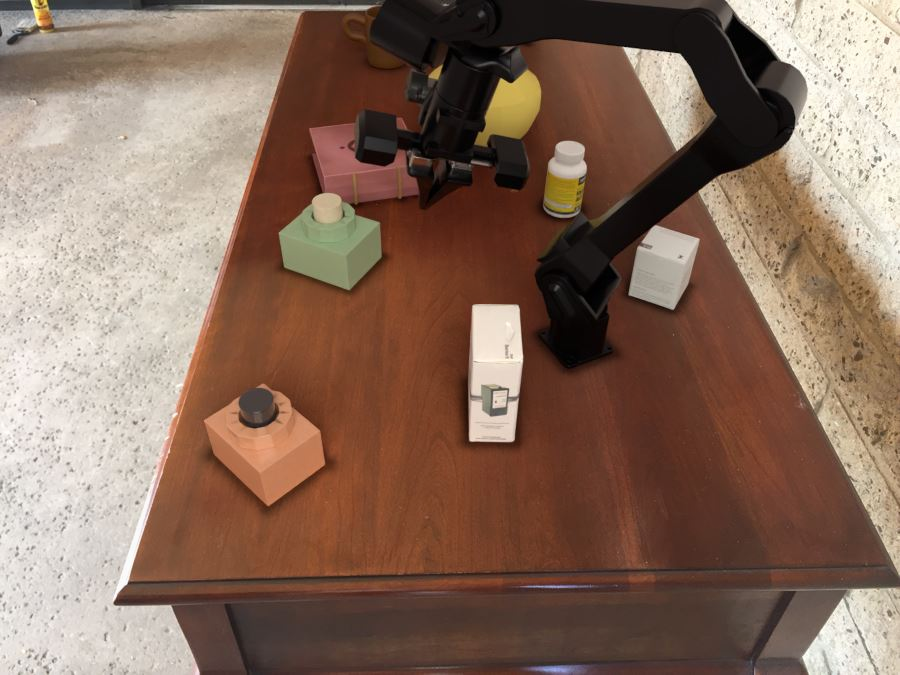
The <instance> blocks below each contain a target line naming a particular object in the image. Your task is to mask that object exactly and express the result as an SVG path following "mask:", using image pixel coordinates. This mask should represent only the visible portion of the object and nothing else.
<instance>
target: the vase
mask: <svg viewBox="0 0 900 675" xmlns="http://www.w3.org/2000/svg"><path fill="white" fill-rule="evenodd" d="M442 66H443V64H440V65H439V66H437V67H436V68H434V70H433V71H431V73H429V74H428V76H429V78H434V79H438V78H439V75H440V72H441V69H442ZM541 102H542V88H541V85H540V81H539V79H538V78H537V75H535V74H534V73H533V72H532V71H531V70H530V69H529V68H528V69H527V70H526V71H525V72H524V73H523V74H522V75H521V76H520V77H519V78H518V79H517V80H516V81H514V82H513V83H508V82H507V81H505V80H503V79H502V78H501V79H500V81H499V84H498V86H497V89H496V91H495V93H494V96H493V98H492V101H491V103H490V106H489V109H488V111H487V114H486V116H485V121H486V126H485V129H484V131H483V133H482V132H479V133H478V136H477V138H476V141H475V143H474V145H479V146H485V147H488V146H487V141H488V139H489V136H490V135H492V134H496V135H501V136H506V137H511V138H516V139H521V140H522V138H523V137H524V136H525V135H526V134H527V133H528V131H530V129H531V127H532V125H533V123H534V122H535V120H536V118H537V116H538V114H539V113H540V110H541Z"/></svg>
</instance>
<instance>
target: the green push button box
mask: <svg viewBox="0 0 900 675" xmlns="http://www.w3.org/2000/svg"><path fill="white" fill-rule="evenodd" d="M342 210H343V218H342V220H340V221H338V222H335V223H332V224H322V223H319V222H316V221H315V219H314V214H313V206H312V203H310V204H309V205H308V206H306V208H304V209H303V210H302V212H301V213H300V214H299V215H298V216H296V217H295V218H294V219H293V220H292V221H290V223H289V224H287V225H286V226H284V228H282V229H281V230H280V231H279V232H278V239H279V243H280V249H281V255H282V262H283V268H285V269H287V270H290V271H292V272H295V273H298V274H302V275H304V276H307V277H310V278H313V279H315V280H319V281H321V282H324V283H327V284H330V285H333V286H336V287H339V288H341V289H344V290H346V291H351V289H352V288H353V287H354V286H355V285H356V284H357V283H358V282H359V281H360V280H361V279H362V278H363V277H364V276H365V275H366V274H367V273H368V272H369V271H370V270H371V269H372V268H373V267H374V266H375V265H376V263H377V262H378V261H379V260H380V259H382V257H383V256H382V252H383V251H382V237H381V236H382V235H381V222H379V221H377V220H373V219H370V218H366V217H364V216H361V215H357V214H356V210H355V209H354V208H353V207H352V205H350V204H348V203H345V202H342Z"/></svg>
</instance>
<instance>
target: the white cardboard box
mask: <svg viewBox="0 0 900 675" xmlns="http://www.w3.org/2000/svg"><path fill="white" fill-rule="evenodd" d="M699 245H700V238H698V237H696V236H691V235H689V234H685V233H682V232H679V231H676V230H672V229H669V228H666V227H663V226H660V225H657V224H656V225H655V226H654V227H652V228H651V229H650V230H648V231H647V233H646V235H645V237H644V238H643V239H642V241H641V242H640V243H639V245H638V246H637V248H636V251H635V257H634V262H633V267H632V273H631V278H630V283H629V288H628V296H630V297H634V298H637V299H640V300H642V301H646V302H648V303H651V304H655V305H657V306H661V307H664V308H666V309H668V310H671V311H674V310H675V308H676V306H677V305H678V304H679V301H680V300H681V298H682V296H683V294H684V292H685V290H686V289H687V287H688V285H689V283H690V278H691V275H692V271H693V267H694V263H695V259H696V256H697V252H698V249H699Z"/></svg>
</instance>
